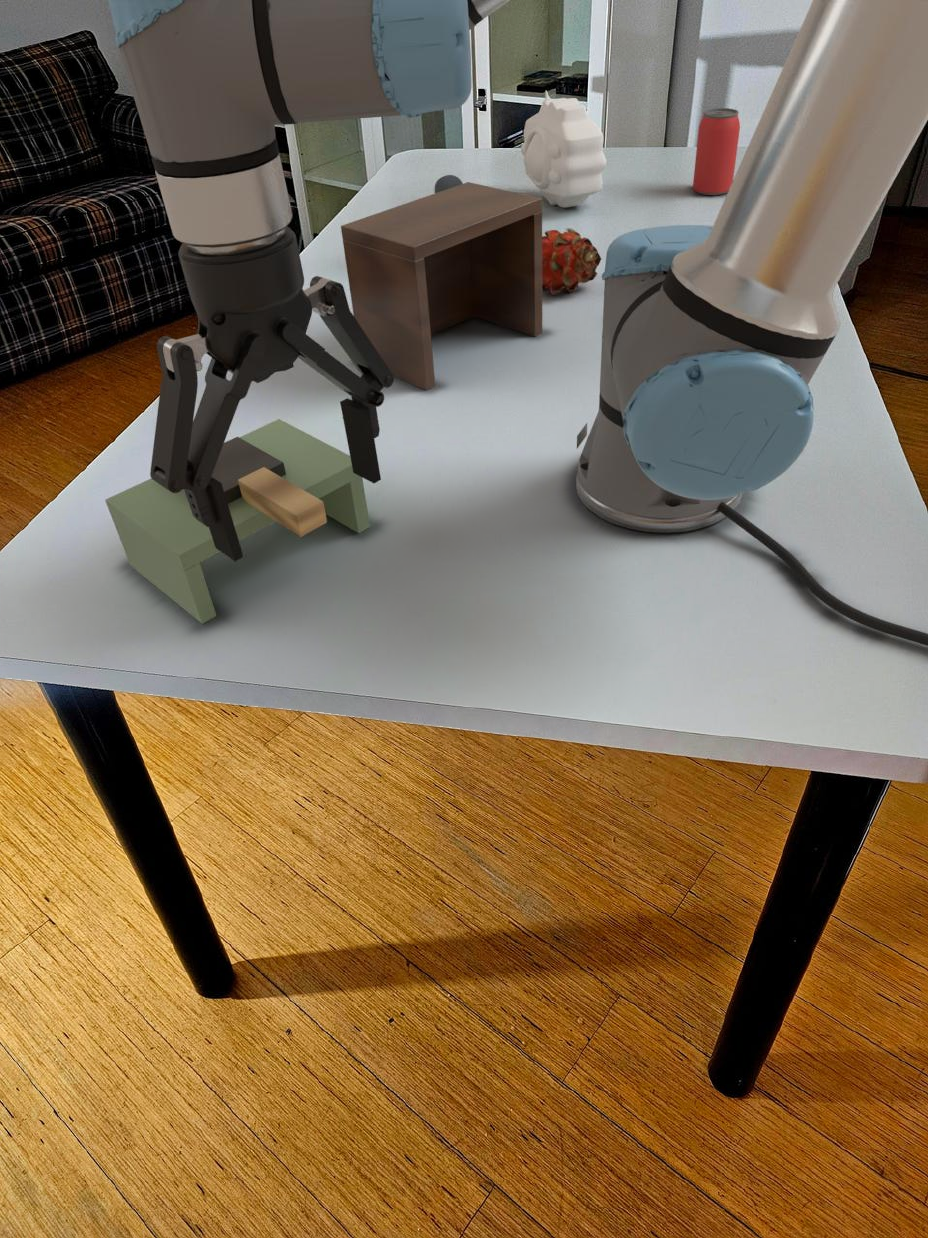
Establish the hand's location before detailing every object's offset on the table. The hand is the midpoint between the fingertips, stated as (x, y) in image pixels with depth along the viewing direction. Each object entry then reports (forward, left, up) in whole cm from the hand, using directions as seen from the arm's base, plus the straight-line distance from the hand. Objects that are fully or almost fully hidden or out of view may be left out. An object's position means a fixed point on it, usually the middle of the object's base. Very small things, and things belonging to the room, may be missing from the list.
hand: (301, 513), depth 70 cm
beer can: (+35, -113, -8) cm, 118 cm away
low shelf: (+9, 0, -7) cm, 12 cm away
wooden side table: (+25, -41, -7) cm, 49 cm away
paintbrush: (+62, -81, -8) cm, 102 cm away
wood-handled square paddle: (+6, 0, -1) cm, 6 cm away
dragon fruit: (+27, -63, -8) cm, 69 cm away
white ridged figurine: (+52, -93, -8) cm, 107 cm away
